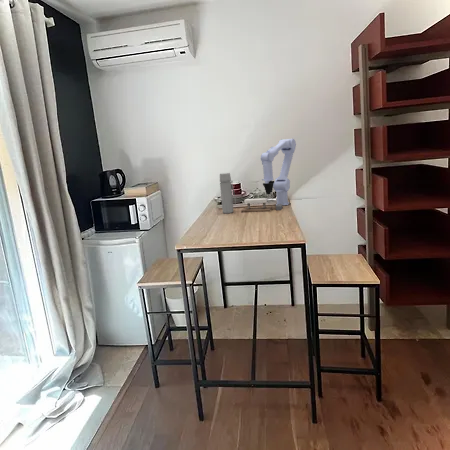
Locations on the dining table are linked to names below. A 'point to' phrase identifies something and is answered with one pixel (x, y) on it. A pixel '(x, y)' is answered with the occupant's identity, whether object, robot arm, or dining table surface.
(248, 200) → the shelf board
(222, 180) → the water bottle
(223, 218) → the dining table surface
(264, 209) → the peg stand
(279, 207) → the block
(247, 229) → the dining table surface
